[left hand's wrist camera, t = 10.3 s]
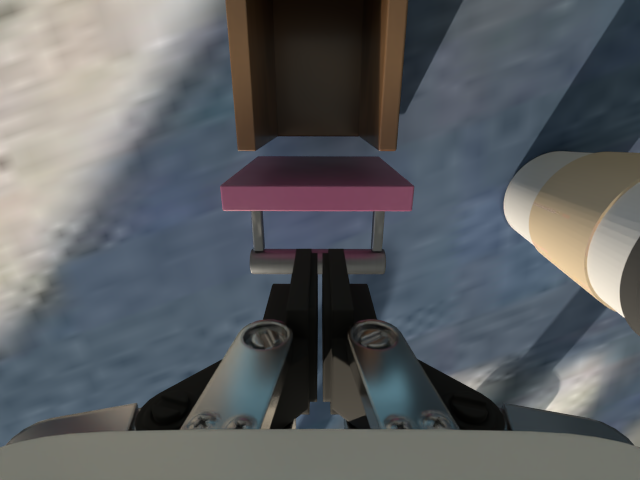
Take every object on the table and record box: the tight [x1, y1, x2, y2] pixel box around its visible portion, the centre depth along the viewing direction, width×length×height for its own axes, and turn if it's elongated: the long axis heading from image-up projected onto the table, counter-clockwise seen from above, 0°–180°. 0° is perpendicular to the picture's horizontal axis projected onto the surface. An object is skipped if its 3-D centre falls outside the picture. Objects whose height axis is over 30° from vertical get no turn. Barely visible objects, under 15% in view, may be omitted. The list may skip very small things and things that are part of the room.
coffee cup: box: [504, 151, 640, 336], centre depth 19 cm, size 9×9×15 cm
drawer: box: [220, 0, 414, 274], centre depth 18 cm, size 22×9×10 cm, turn 0°
